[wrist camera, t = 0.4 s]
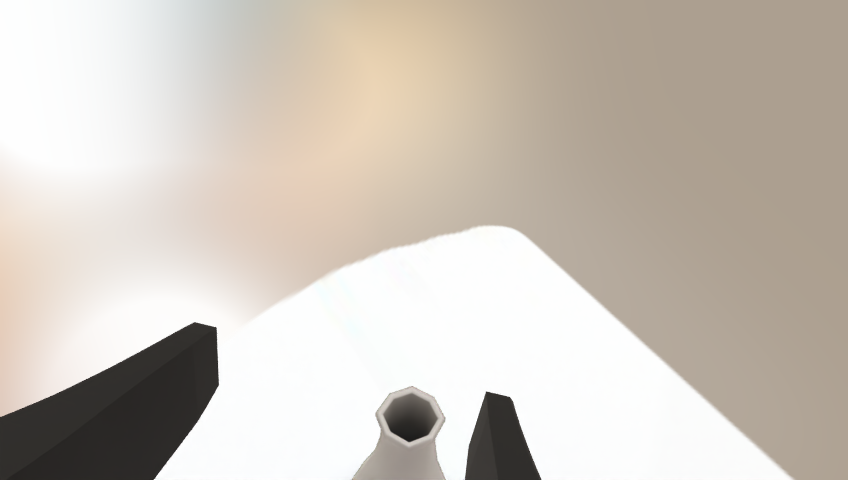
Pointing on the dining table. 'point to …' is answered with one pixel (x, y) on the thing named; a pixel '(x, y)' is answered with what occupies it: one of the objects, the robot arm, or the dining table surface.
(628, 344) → the dining table surface
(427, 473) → the flask
